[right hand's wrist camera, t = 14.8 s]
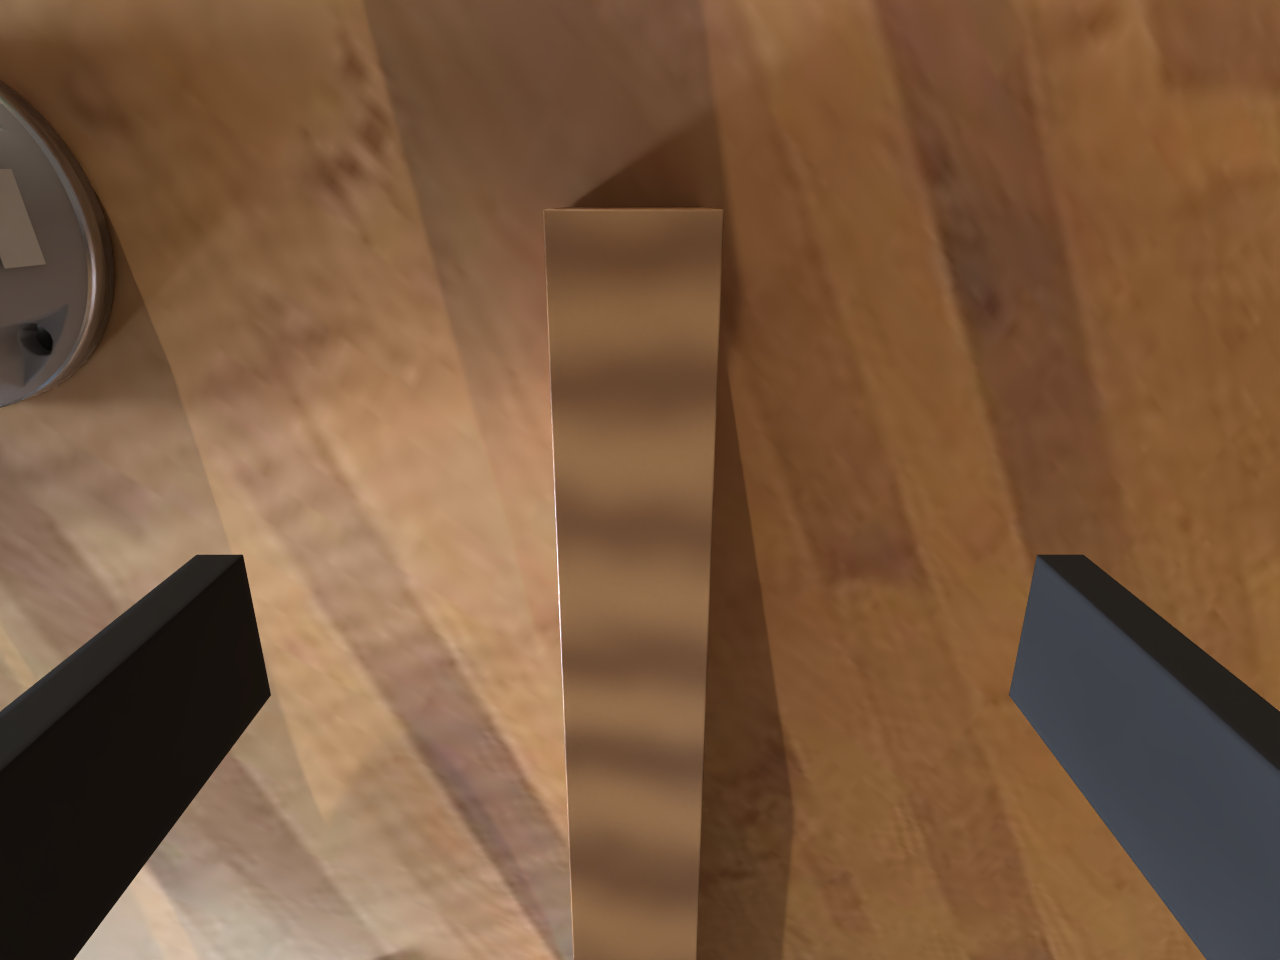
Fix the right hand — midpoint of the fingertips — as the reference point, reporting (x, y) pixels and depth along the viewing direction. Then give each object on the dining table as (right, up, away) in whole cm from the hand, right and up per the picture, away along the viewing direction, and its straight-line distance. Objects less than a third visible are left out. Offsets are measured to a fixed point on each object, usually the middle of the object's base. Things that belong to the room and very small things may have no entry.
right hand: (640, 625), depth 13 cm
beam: (0, -24, +34) cm, 42 cm away
